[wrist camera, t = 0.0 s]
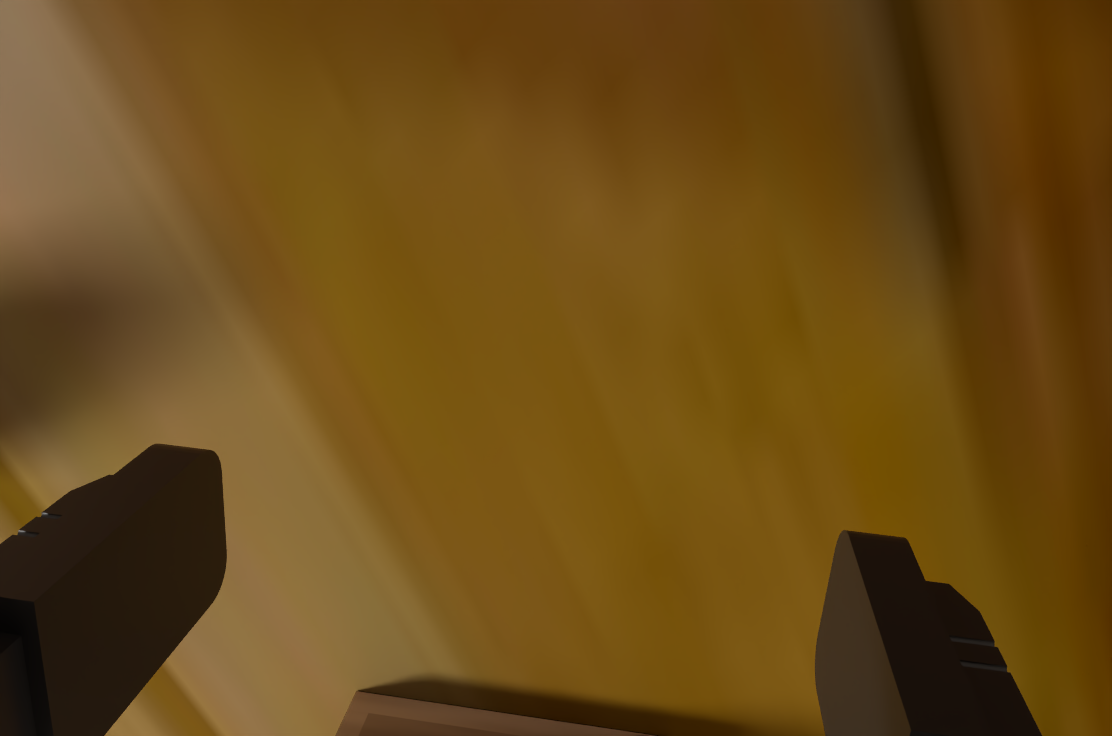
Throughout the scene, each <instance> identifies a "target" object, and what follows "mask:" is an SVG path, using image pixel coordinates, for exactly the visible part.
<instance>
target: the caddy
mask: <svg viewBox="0 0 1112 736" xmlns="http://www.w3.org/2000/svg"><path fill="white" fill-rule="evenodd" d="M335 736H655V735H648V734H641V733H635V732H628V731H621V730H614V729H608V728H601V727H594V726H588V725H581V724H574V723H567V722H561V721H554V720H547V719H540V718H534V717H527V716H520V715H513V714H507V713H500V712H493V711H486V710H480V709H473V708H466V707H459V706H453V705H446V704H439V703H432V702H426V701H419V700H412V699H405V698H399V697H392V696H385V695H378V694H372V693H365V692H358V691H356V693H355V695H354V697H353V699H352V702H351V704H350V706H349V708H348V710H347V712H346V714H345V716H344V719H343V721H342V723H341V725H340V727H339V729H338V731H337V733H336V735H335Z"/></svg>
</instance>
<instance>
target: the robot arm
mask: <svg viewBox="0 0 1112 736" xmlns="http://www.w3.org/2000/svg"><path fill="white" fill-rule="evenodd" d="M226 560H227V550H226V534H225V517H224V501H223V484H222V470H221V464H220V460H219V457H218V456H217V454H216V453H215V452H214V451H212V450H206V449H198V448H190V447H182V446H174V445H166V444H154V445H152V446H150V447H148V448H147V449H146V450H145V451H143V452H142V453H141V454H140V455H138V456H137V457H136V458H135V459H133V460H132V461H131V462H129V463H128V464H127V465H126V466H124V467H123V468H122V469H121V470H119V471H118V472H117V473H115V474H114V475H108V476H105V477H103V478H100V479H98V480H96V481H93V482H91V483H88V484H86V485H84V486H81V487H79V488H77V489H74V490H72V491H70V492H68V493H67V494H66V495H64V496H63V497H62V498H60V499H59V500H58V501H56V502H55V503H54V504H53V505H51V506H50V507H49V508H47V509H46V510H45V511H43V512H42V516H41V517H35V518H34V519H33V520H31V521H30V522H29V523H27V524H26V525H25V526H24V527H22V528H21V529H20V530H19V532H18V535H12V536H10V537H9V538H8V539H6V540H5V541H4V542H2V543H1V544H0V736H104V735H105V734H106V733H107V731H108V730H109V729H110V728H111V727H112V725H113V724H114V723H115V722H116V720H117V719H118V718H119V717H120V716H121V714H122V713H123V712H124V711H125V709H126V708H127V707H128V706H129V705H130V703H131V702H132V701H133V700H134V698H135V697H136V696H137V695H138V694H139V692H140V691H141V690H142V689H143V687H144V686H145V685H146V684H147V683H148V681H149V680H150V679H151V678H152V676H153V675H154V674H155V673H156V672H157V670H158V669H159V668H160V667H161V665H162V664H163V663H164V662H165V660H166V659H167V658H168V657H169V656H170V654H171V653H172V652H173V651H174V649H175V648H176V647H177V646H178V645H179V643H180V642H181V641H182V640H183V638H184V637H185V636H186V635H187V634H188V632H189V631H190V630H191V629H192V627H193V626H194V625H195V624H196V623H197V621H198V620H199V619H200V618H201V616H202V615H203V614H204V613H205V612H206V610H207V609H208V608H209V607H210V605H211V604H212V603H213V601H214V600H215V598H216V596H217V595H218V592H219V590H220V588H221V585H222V582H223V578H224V574H225V569H226ZM994 642H995V641H994V639H993V637H992V635H991V633H990V631H989V629H988V627H987V625H986V623H985V621H984V619H983V617H982V615H981V613H980V612H979V611H978V610H977V609H976V608H975V607H974V606H973V605H972V604H971V603H969V602H968V601H967V600H966V599H965V598H964V597H963V596H962V595H961V594H960V593H958V592H957V591H956V590H955V589H954V588H953V587H952V586H951V585H950V584H945V583H937V582H930V581H925V579H924V576H923V574H922V572H921V569H920V567H919V565H918V563H917V560H916V558H915V556H914V553H913V551H912V549H911V546H910V544H909V542H908V540H907V539H906V538H903V537H895V536H887V535H879V534H871V533H862V532H854V531H846V530H844V531H842V532H841V534H840V535H839V538H838V541H837V544H836V548H835V553H834V558H833V562H832V567H831V572H830V577H829V582H828V587H827V592H826V597H825V602H824V607H823V612H822V617H821V622H820V627H819V632H818V638H817V645H816V656H815V681H816V689H817V695H818V700H819V705H820V710H821V715H822V720H823V725H824V730H825V735H826V736H1042V735H1041V733H1040V731H1039V729H1038V727H1037V725H1036V723H1035V721H1034V719H1033V717H1032V715H1031V713H1030V711H1029V709H1028V707H1027V705H1026V703H1025V701H1024V699H1023V697H1022V695H1021V693H1020V691H1019V689H1018V687H1017V685H1016V683H1015V681H1014V679H1013V677H1012V675H1011V673H1009V672H1007V665H1006V663H1005V661H1004V659H1003V657H1002V655H1001V653H1000V651H999V649H998V647H994Z"/></svg>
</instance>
